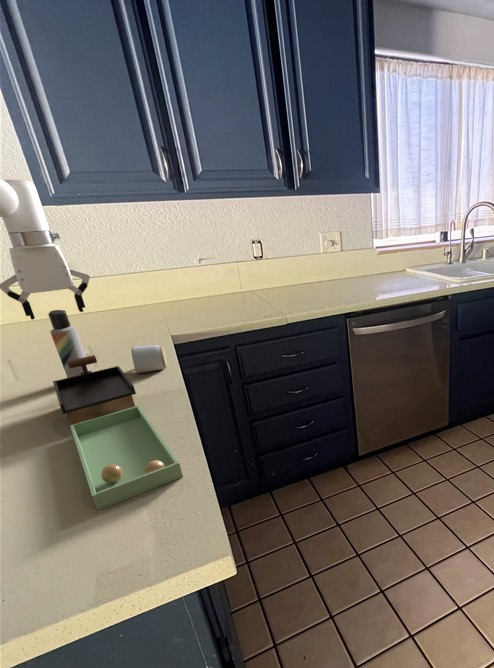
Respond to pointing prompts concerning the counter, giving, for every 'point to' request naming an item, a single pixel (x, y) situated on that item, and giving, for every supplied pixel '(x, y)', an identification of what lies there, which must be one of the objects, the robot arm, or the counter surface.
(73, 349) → the lotion bottle
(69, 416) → the stand
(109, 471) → the ball
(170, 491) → the counter surface
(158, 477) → the tray
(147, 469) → the ball
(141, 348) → the ceramic mug
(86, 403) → the pan
